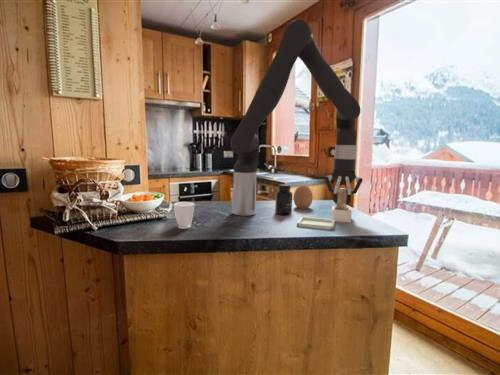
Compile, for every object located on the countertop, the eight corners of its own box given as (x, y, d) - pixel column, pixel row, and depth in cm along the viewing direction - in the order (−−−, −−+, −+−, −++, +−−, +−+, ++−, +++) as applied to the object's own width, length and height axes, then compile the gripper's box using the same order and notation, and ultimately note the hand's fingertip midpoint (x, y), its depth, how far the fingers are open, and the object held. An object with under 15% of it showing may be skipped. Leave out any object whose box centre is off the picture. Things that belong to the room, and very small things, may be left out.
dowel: (335, 218, 110) (337, 189, 108) (335, 215, 113) (337, 187, 111) (345, 219, 109) (347, 189, 107) (345, 216, 112) (347, 188, 110)
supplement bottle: (291, 216, 118) (292, 186, 116) (274, 215, 119) (275, 185, 118) (292, 212, 125) (293, 184, 123) (276, 211, 126) (276, 183, 124)
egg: (300, 206, 136) (301, 182, 134) (315, 209, 130) (316, 184, 128) (289, 209, 130) (290, 184, 128) (305, 212, 124) (306, 186, 123)
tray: (296, 228, 100) (296, 222, 100) (301, 221, 110) (301, 216, 109) (333, 232, 97) (333, 226, 96) (334, 224, 106) (334, 219, 106)
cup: (172, 230, 96) (172, 206, 95) (175, 222, 106) (175, 200, 105) (194, 229, 97) (194, 205, 96) (195, 221, 107) (195, 199, 106)
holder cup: (330, 222, 109) (331, 209, 108) (331, 218, 115) (332, 205, 115) (350, 224, 107) (351, 211, 106) (350, 220, 113) (351, 207, 112)
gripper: (324, 157, 106) (321, 204, 109) (366, 158, 102) (362, 207, 104) (325, 156, 113) (323, 200, 116) (365, 158, 109) (361, 203, 111)
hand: (341, 203), depth 110 cm, fingers closed on dowel, 3 cm apart
